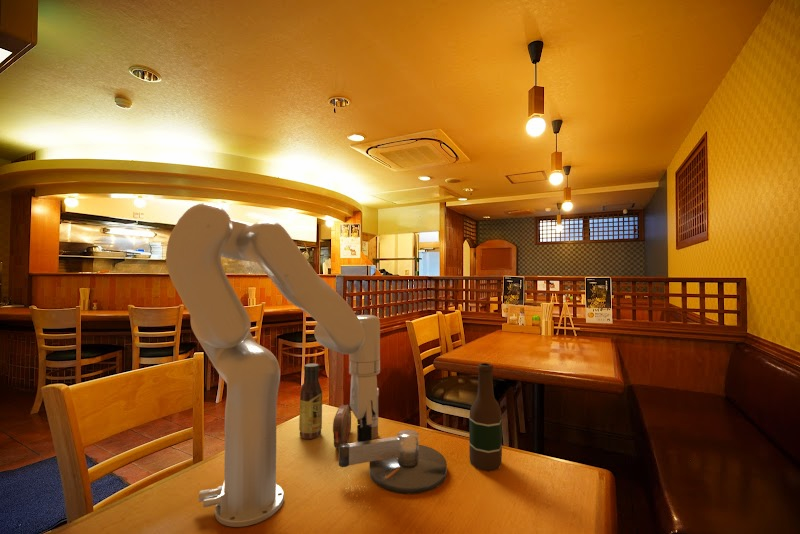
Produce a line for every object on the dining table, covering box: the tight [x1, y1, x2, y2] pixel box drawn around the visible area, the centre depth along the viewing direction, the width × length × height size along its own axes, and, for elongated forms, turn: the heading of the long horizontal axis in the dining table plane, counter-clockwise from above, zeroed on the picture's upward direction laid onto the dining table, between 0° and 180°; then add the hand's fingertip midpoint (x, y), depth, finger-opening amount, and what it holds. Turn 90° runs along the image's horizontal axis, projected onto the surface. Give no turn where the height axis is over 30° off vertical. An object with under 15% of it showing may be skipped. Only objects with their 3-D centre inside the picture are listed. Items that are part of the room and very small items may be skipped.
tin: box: [332, 404, 352, 449], centre depth 99 cm, size 15×3×8 cm, turn 179°
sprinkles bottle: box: [372, 387, 380, 440], centre depth 102 cm, size 5×5×14 cm
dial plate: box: [368, 444, 448, 495], centre depth 84 cm, size 18×18×2 cm
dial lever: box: [338, 429, 420, 468], centre depth 82 cm, size 19×5×6 cm, turn 109°
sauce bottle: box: [298, 363, 323, 440], centre depth 103 cm, size 6×6×20 cm
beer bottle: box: [468, 362, 503, 472], centre depth 88 cm, size 8×8×24 cm
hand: (364, 441), depth 87 cm, fingers closed
